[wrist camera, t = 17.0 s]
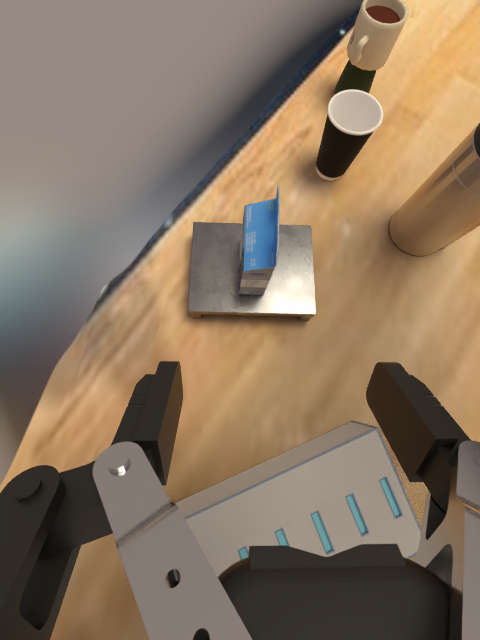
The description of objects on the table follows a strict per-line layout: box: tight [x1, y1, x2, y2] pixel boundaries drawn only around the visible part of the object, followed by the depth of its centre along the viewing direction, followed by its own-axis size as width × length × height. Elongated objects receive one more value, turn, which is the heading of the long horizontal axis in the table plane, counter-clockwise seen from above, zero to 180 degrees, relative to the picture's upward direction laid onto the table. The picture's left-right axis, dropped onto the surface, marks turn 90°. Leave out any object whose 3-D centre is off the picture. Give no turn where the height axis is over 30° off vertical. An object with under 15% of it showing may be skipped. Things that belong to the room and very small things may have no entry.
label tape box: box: [239, 184, 279, 295], centre depth 35 cm, size 9×4×12 cm, turn 178°
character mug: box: [335, 0, 408, 94], centre depth 48 cm, size 11×7×13 cm, turn 141°
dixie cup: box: [316, 90, 383, 181], centre depth 45 cm, size 8×8×11 cm
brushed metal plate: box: [188, 222, 316, 321], centre depth 43 cm, size 18×14×4 cm
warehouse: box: [175, 421, 421, 577], centre depth 34 cm, size 30×14×8 cm, turn 112°
